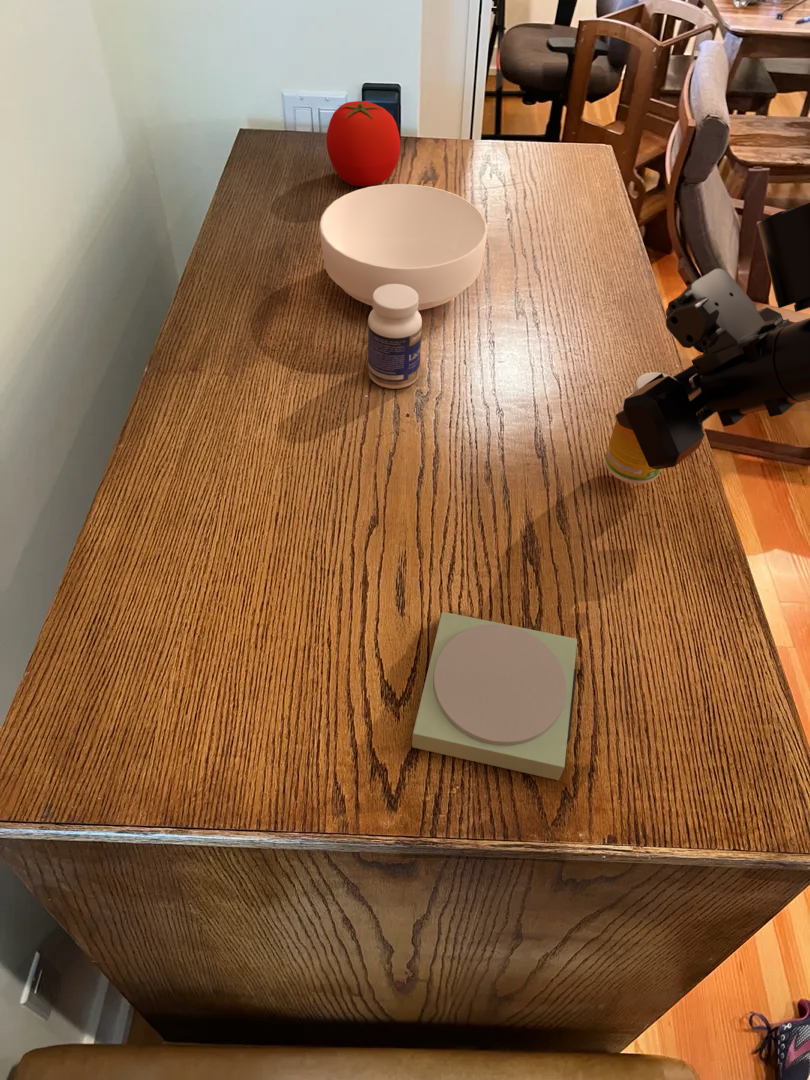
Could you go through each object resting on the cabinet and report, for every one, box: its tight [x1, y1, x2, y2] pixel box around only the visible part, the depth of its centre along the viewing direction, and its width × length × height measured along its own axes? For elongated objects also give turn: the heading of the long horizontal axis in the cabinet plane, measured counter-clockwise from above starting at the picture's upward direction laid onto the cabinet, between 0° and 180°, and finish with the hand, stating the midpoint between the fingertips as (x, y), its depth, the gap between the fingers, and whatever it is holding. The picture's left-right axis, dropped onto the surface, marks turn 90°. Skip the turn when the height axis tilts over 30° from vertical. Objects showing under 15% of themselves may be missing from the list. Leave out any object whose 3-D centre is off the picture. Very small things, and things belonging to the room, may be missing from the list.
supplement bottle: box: [604, 371, 676, 485], centre depth 71 cm, size 5×5×10 cm
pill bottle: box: [367, 284, 423, 390], centre depth 82 cm, size 6×6×10 cm
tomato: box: [325, 100, 401, 187], centre depth 110 cm, size 10×11×11 cm
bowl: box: [319, 183, 488, 312], centre depth 93 cm, size 20×20×8 cm
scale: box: [411, 611, 578, 781], centre depth 59 cm, size 11×11×3 cm
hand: (637, 405), depth 70 cm, fingers closed on supplement bottle, 5 cm apart
